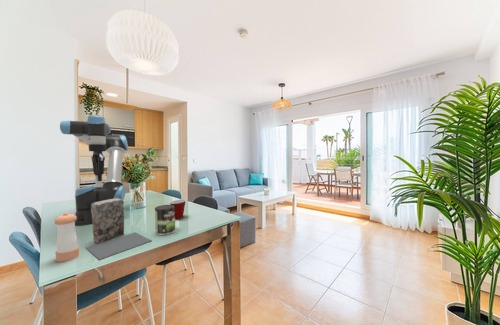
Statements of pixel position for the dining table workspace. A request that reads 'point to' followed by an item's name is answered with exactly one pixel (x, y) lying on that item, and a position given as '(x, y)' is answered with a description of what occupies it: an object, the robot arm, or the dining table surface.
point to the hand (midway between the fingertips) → (99, 186)
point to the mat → (117, 245)
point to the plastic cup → (178, 208)
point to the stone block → (107, 219)
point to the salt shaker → (66, 238)
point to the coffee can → (165, 219)
